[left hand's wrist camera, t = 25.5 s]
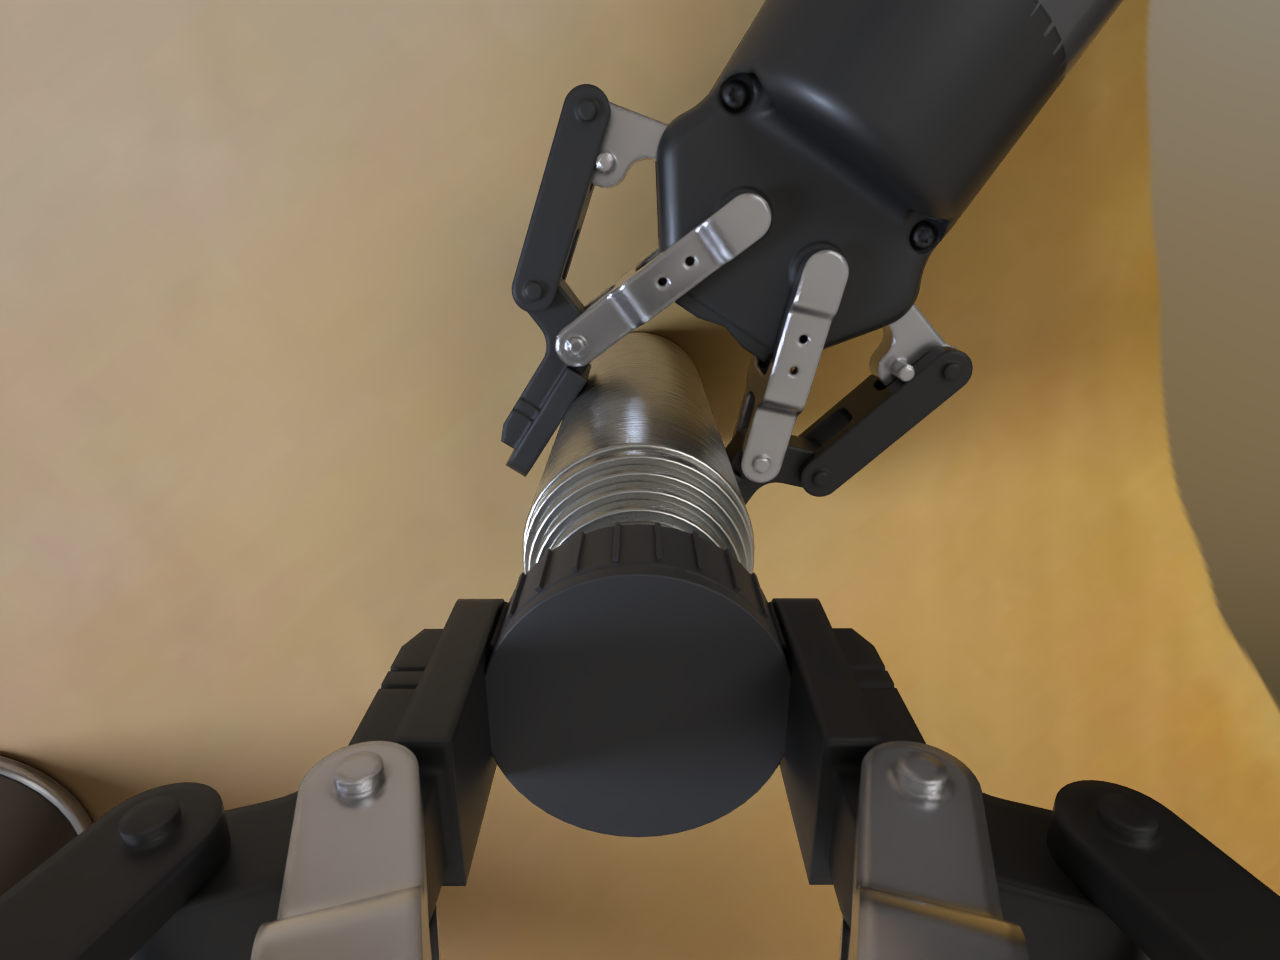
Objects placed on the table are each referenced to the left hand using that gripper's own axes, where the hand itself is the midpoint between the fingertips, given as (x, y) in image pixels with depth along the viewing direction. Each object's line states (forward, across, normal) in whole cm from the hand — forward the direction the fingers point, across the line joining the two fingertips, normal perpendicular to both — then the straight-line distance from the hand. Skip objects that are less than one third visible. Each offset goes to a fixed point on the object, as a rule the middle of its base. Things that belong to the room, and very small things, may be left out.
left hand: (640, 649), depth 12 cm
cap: (-1, 0, 0) cm, 1 cm away
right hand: (+12, -1, -2) cm, 12 cm away
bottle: (+18, 0, 0) cm, 18 cm away
